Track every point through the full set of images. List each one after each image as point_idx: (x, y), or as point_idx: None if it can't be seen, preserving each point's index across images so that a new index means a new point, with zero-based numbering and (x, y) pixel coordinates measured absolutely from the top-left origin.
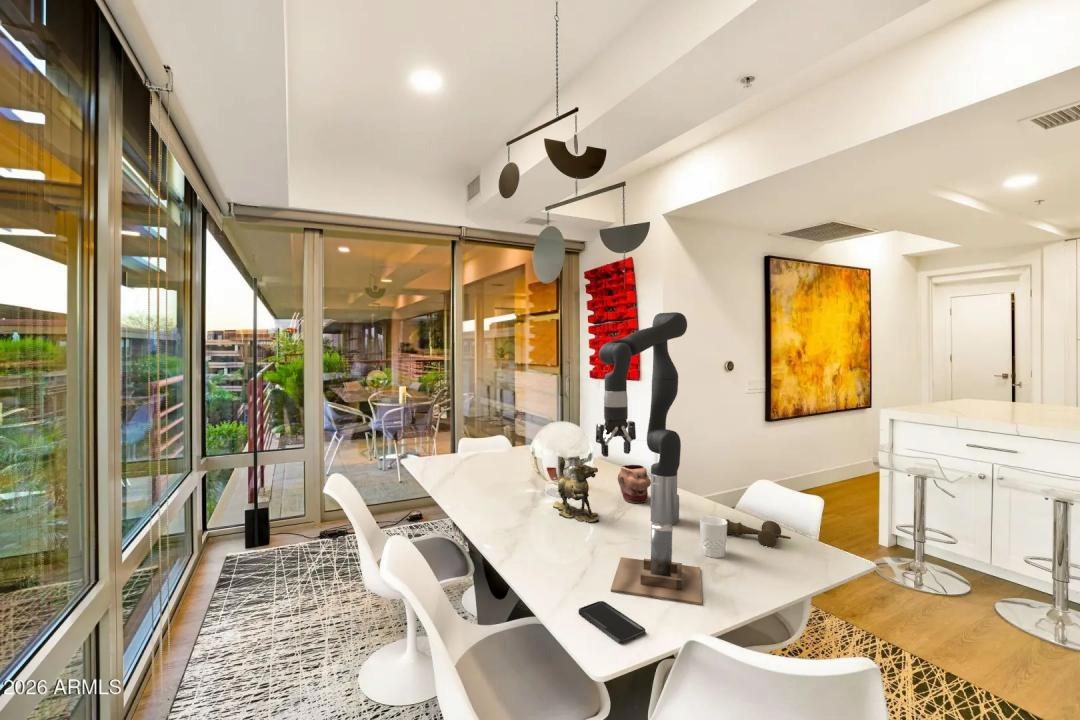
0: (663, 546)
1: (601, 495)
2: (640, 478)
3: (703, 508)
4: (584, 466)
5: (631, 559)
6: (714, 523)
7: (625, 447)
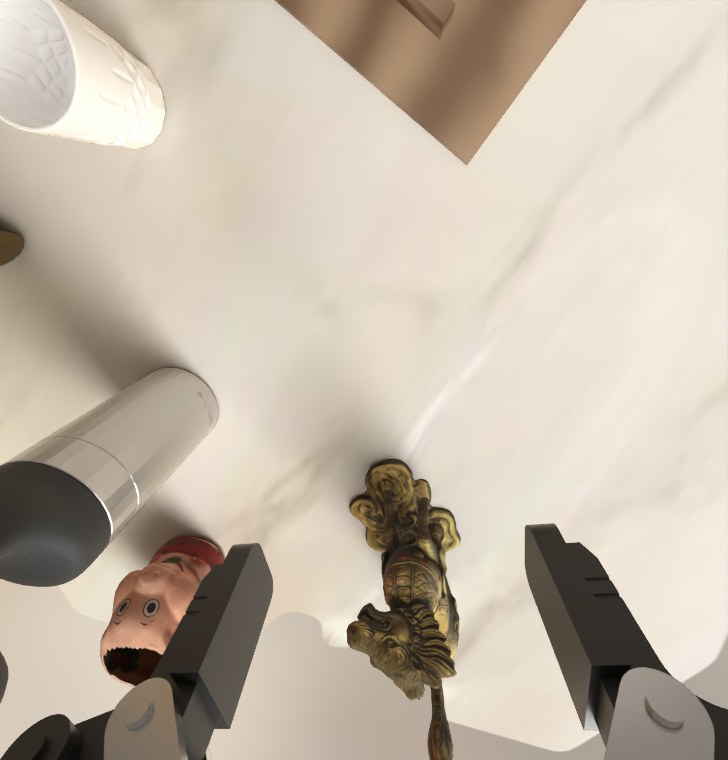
0: None
1: (274, 612)
2: (149, 598)
3: (22, 449)
4: (407, 669)
5: (443, 129)
6: (23, 115)
7: (245, 628)
